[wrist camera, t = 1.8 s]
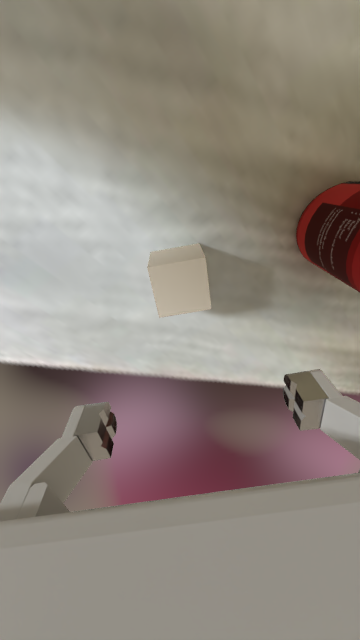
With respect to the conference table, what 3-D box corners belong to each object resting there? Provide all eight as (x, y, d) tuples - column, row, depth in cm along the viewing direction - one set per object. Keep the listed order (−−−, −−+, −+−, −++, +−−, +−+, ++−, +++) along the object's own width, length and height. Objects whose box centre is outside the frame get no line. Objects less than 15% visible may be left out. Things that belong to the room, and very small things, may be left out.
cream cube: (150, 251, 25) (147, 267, 21) (199, 243, 25) (205, 257, 21) (160, 295, 28) (159, 317, 24) (204, 288, 28) (211, 309, 23)
